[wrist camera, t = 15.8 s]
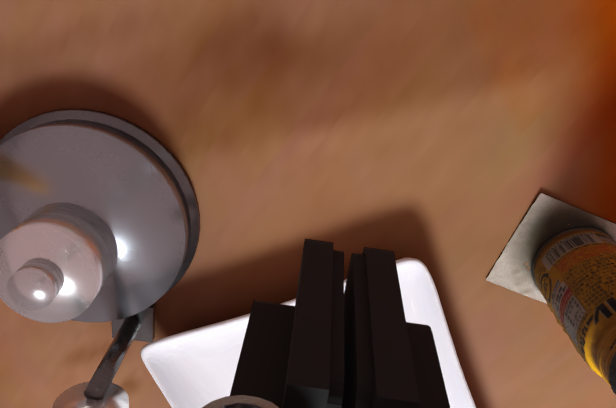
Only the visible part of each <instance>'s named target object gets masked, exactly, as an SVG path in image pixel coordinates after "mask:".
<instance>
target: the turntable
mask: <svg viewBox="0 0 616 408" xmlns="http://www.w3.org/2000/svg"><path fill="white" fill-rule="evenodd" d="M59 202H60V203H72V204H76V205H79V206H82V207H85V208H87V209H89V210H91V211H92V212H94V213H95V214H97V215H98V216H99V217H100V218H102V219H103V221H104V222H105V223H106V224H107V225H108V226H109V228H110V229H111V231H112V233H113V234H114V237H115V239H116V242H117V247H118V259H117V264H116V267H115V269H114V271H113V272H112V274H111V275H110V277H109V278H108V280H107V281H106V283H105V284H104V285H103V287H102V288H101V290H100V291H99V293H98V294H97V295H96V297H95V298H94V300H93V301H92V303H91V304H90V305H89V307H88V308H87V309H86V310H85V311H84V312H83V313H82V314H80V315H79V316H77V317H75V318H73V319H71V320H75V321H82V322H107V321H114V320H119V319H123V318H126V317H129V316H132V315H135V314H137V313H139V312H141V311H143V310H145V309H146V308H148V307H149V306H151V305H152V304H154V303H155V302H156V301H157V300H158V299H160V298H161V297H162V296H163V295H164V294H165V292H166V291H167V290H168V289H169V288H170V286H171V285H172V283H173V281H174V280H175V278H176V276H177V274H178V272H179V270H180V268H181V266H182V264H183V262H184V259H185V257H186V254H187V251H188V247H189V243H190V233H191V223H190V214H189V209H188V204H187V201H186V198H185V196H184V193H183V191H182V189H181V187H180V185H179V183H178V181H177V179H176V177H175V176H174V174H173V173H172V171H171V170H170V168H169V167H168V166H167V165H166V164H165V163H164V161H163V160H162V159H161V158H160V157H159V156H158V155H157V154H156V153H155V152H154V151H153V150H152V149H150V148H149V147H148V146H147V145H145V144H144V143H142V142H141V141H140V140H138V139H137V138H135V137H133V136H131V135H130V134H128V133H126V132H124V131H122V130H119V129H117V128H115V127H112V126H109V125H106V124H102V123H99V122H94V121H88V120H77V119H65V120H56V121H51V122H47V123H42V124H39V125H37V126H34V127H32V128H29V129H27V130H26V131H24V132H22V133H20V134H18V135H16V136H14V137H13V138H11V139H9V140H8V141H6V142H4V143H3V144H2V145H0V240H1V239H2V238H3V237H4V236H5V235H6V234H8V233H9V232H10V231H11V230H12V229H14V228H15V227H16V226H17V225H18V224H20V223H21V222H22V221H23V220H24V219H26V218H27V217H28V216H29V215H30V214H32V213H33V212H34V211H35V210H37V209H38V208H40V207H42V206H45V205H47V204H51V203H59Z"/></svg>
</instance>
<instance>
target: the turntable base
mask: <svg viewBox="0 0 616 408" xmlns="http://www.w3.org/2000/svg"><path fill="white" fill-rule="evenodd" d="M65 119H77V120H88V121H94V122H99V123H102V124H106V125H109V126H112V127H115V128H117V129H119V130H122V131H124V132H126V133H128V134H130V135H131V136H133V137H135V138H137V139H138V140H140V141H141V142H142V143H144V144H145V145H147V146H148V147H149V148H150V149H152V150H153V151H154V152H155V153H156V154H157V155H158V156H159V157H160V158H161V159H162V160H163V161H164V163H165V164H166V165H167V166H168V167H169V168H170V170H171V171H172V173H173V174H174V176H175V177H176V179H177V181H178V183H179V185H180V187H181V189H182V191H183V193H184V196H185V198H186V201H187V204H188V209H189V214H190V223H191V233H190V243H189V247H188V251H187V254H186V257H185V259H184V262H183V264H182V266H181V268H180V270H179V272H178V274H177V276H176V278H175V280H174V281H173V283H172V285H171V286H170V288H169V289H168V290H167V291H166V292H165V293H167V292H168V291H169V290H170V289H171V288H173V287H174V286H175V285H176V284H177V282H178V281H179V280H180V279H181V278H182V277H183V275H184V274H185V272H186V271H187V269H188V268H189V266H190V263H191V261H192V259H193V257H194V255H195V252H196V248H197V245H198V241H199V233H200V214H199V208H198V202H197V199H196V195H195V192H194V189H193V187H192V185H191V182H190V180H189V178H188V176H187V174H186V173H185V171H184V170H183V168H182V166H181V165H180V163H179V162H178V161H177V160H176V158H175V157H174V156H173V155H172V153H171V152H170V151H169V150H168V149H167V148H166V147H165V146H164V145H163V144H162V143H161V142H160V141H158V140H157V139H156V138H155V137H153V136H152V135H151V134H149V133H148V132H147V131H145V130H143V129H142V128H140V127H138V126H137V125H135V124H133V123H131V122H129V121H127V120H124V119H122V118H120V117H117V116H114V115H111V114H107V113H104V112H99V111H93V110H84V109H66V110H57V111H52V112H48V113H44V114H41V115H39V116H36V117H33V118H31V119H29V120H27V121H25V122H23V123H22V124H20V125H18V126H16V127H15V128H14V129H13V130H11V131H10V132H9V133H7V134H6V135H5V136H4V137H3V138H2V139H1V140H0V145H2V144H3V143H4V142H6V141H8V140H9V139H11V138H13V137H14V136H16V135H18V134H20V133H22V132H24V131H26V130H27V129H29V128H32V127H34V126H37V125H39V124H42V123H47V122H51V121H56V120H65Z"/></svg>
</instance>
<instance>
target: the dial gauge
mask: <svg viewBox="0 0 616 408" xmlns="http://www.w3.org/2000/svg"><path fill="white" fill-rule="evenodd" d="M112 338H114V340H113V341H112V343H111V345H110V347H109V348H108V350H107V352H106V354H105V355H104V357H103V359H102V361H101V363H100V364H99V366H98V368H97V370H96V371H95V373H94V375H93V377H92V378H91V380H90V382H84V383H81V384H78V385H75V386H73V387H71V388H69V389H67V390H66V391H64V392H63V393H62V394H60V395H59V396H58V397H57V399H56V400H55V402H54V404H53V406H52V408H129V398H128V395H127V393H126V392H125V390H124V389H123V388H121V387H120V386H118V385H116V384H114V383H111V382H112V380H113V378H114V376H115V374H116V372H117V370H118V368H119V366H120V364H121V362H122V360H123V358H124V356H125V355H126V353H127V351H128V349H129V347H130V345H131V343H132V341H133V340H138V341H146V342H153V340H154V338H155V303H154V304H152V305H151V306H149V307H148V308H146V309H145V310H143V311H141V312H139V313H137V314H135V315H132V316H129V317H126V318H123V319H119V320H114V321H112Z"/></svg>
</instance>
